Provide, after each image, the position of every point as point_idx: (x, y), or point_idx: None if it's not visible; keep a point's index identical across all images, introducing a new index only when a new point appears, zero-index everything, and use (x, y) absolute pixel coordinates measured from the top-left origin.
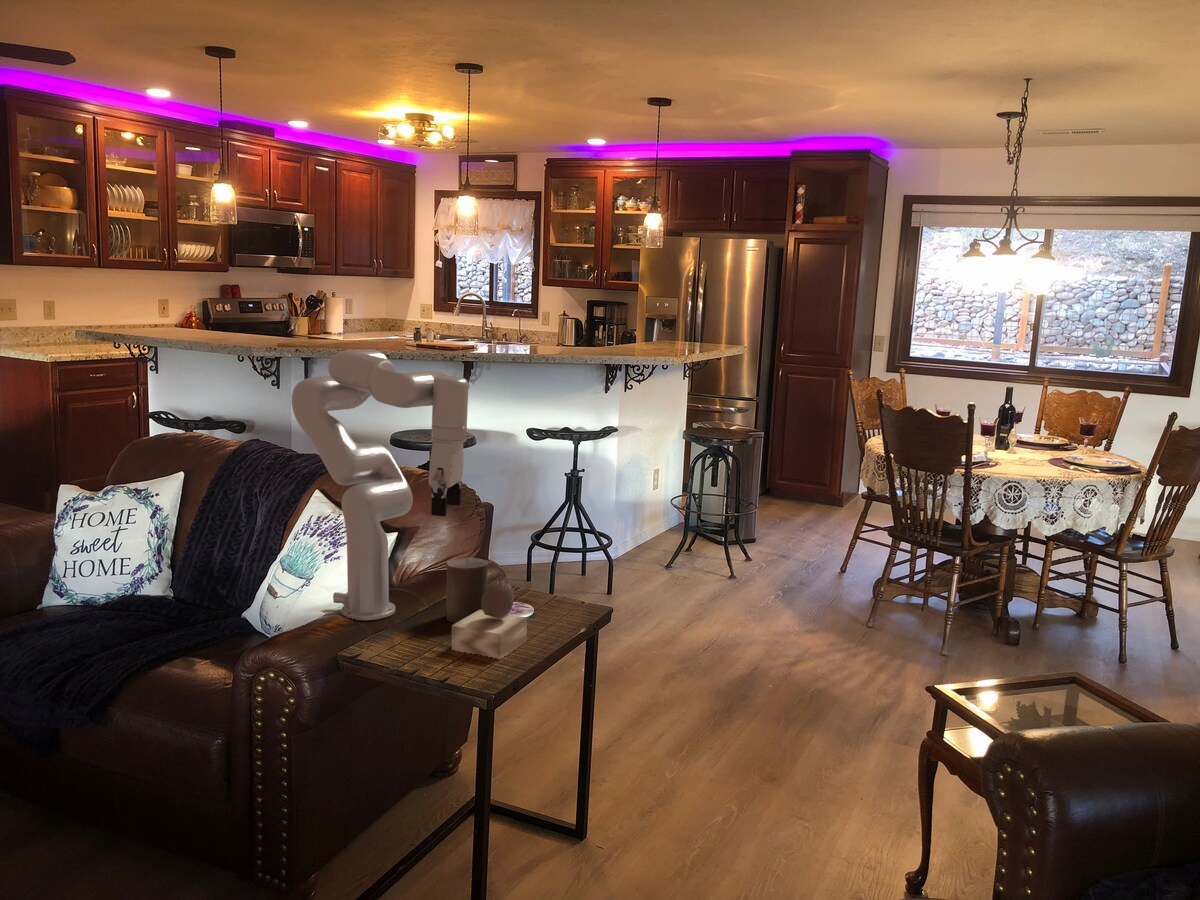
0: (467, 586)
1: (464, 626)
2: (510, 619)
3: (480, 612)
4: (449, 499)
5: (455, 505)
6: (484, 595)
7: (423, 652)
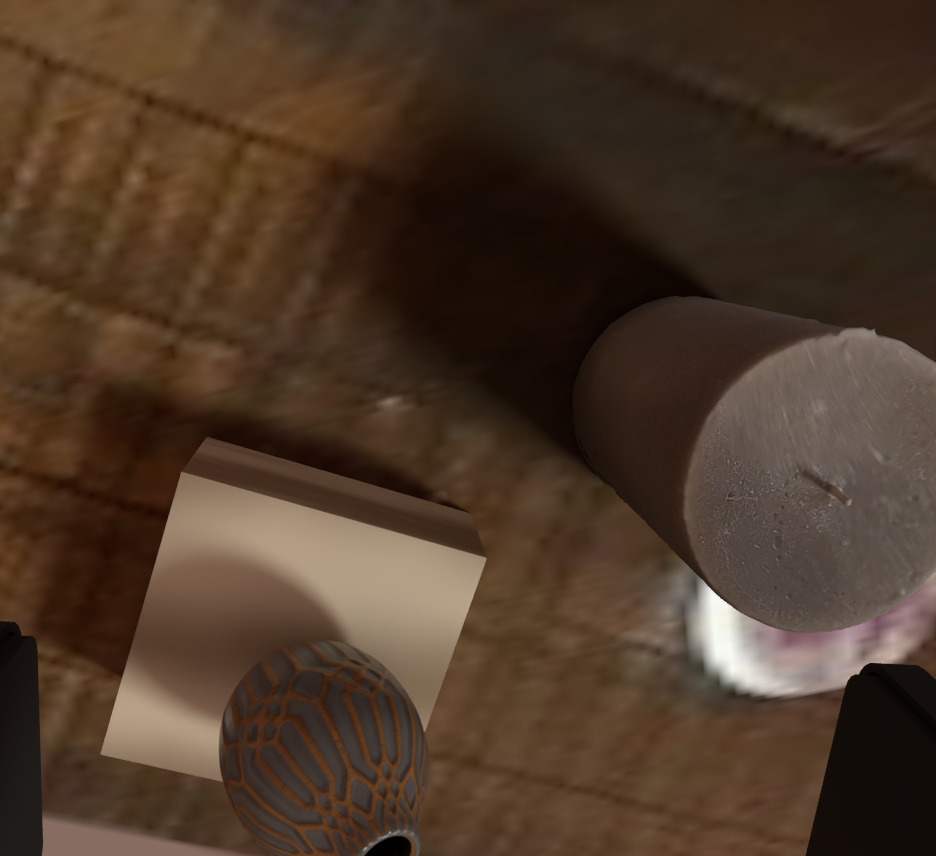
0: (639, 486)
1: (181, 544)
2: None
3: (436, 573)
4: (895, 783)
5: (826, 814)
6: (266, 711)
7: (144, 304)
